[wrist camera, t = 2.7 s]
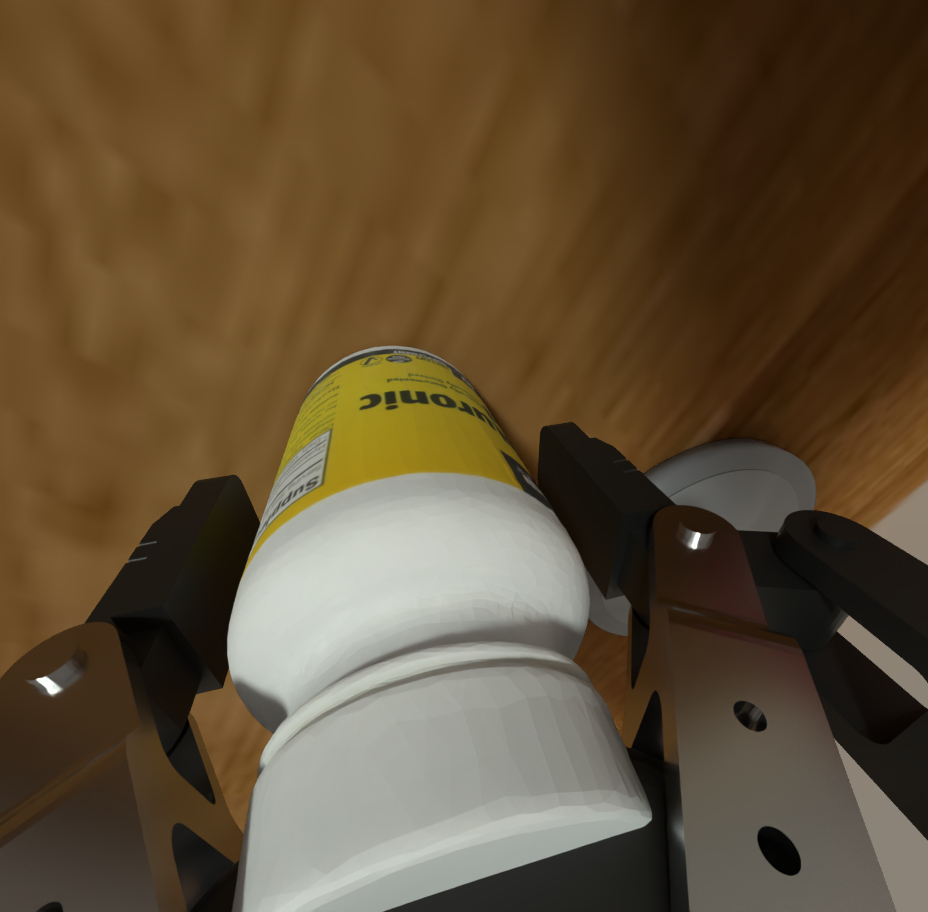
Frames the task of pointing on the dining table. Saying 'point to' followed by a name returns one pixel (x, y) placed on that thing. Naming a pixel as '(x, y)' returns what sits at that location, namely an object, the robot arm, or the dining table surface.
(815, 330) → the dining table surface
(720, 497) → the slate coaster
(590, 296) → the dining table surface
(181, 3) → the dining table surface
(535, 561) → the supplement bottle
